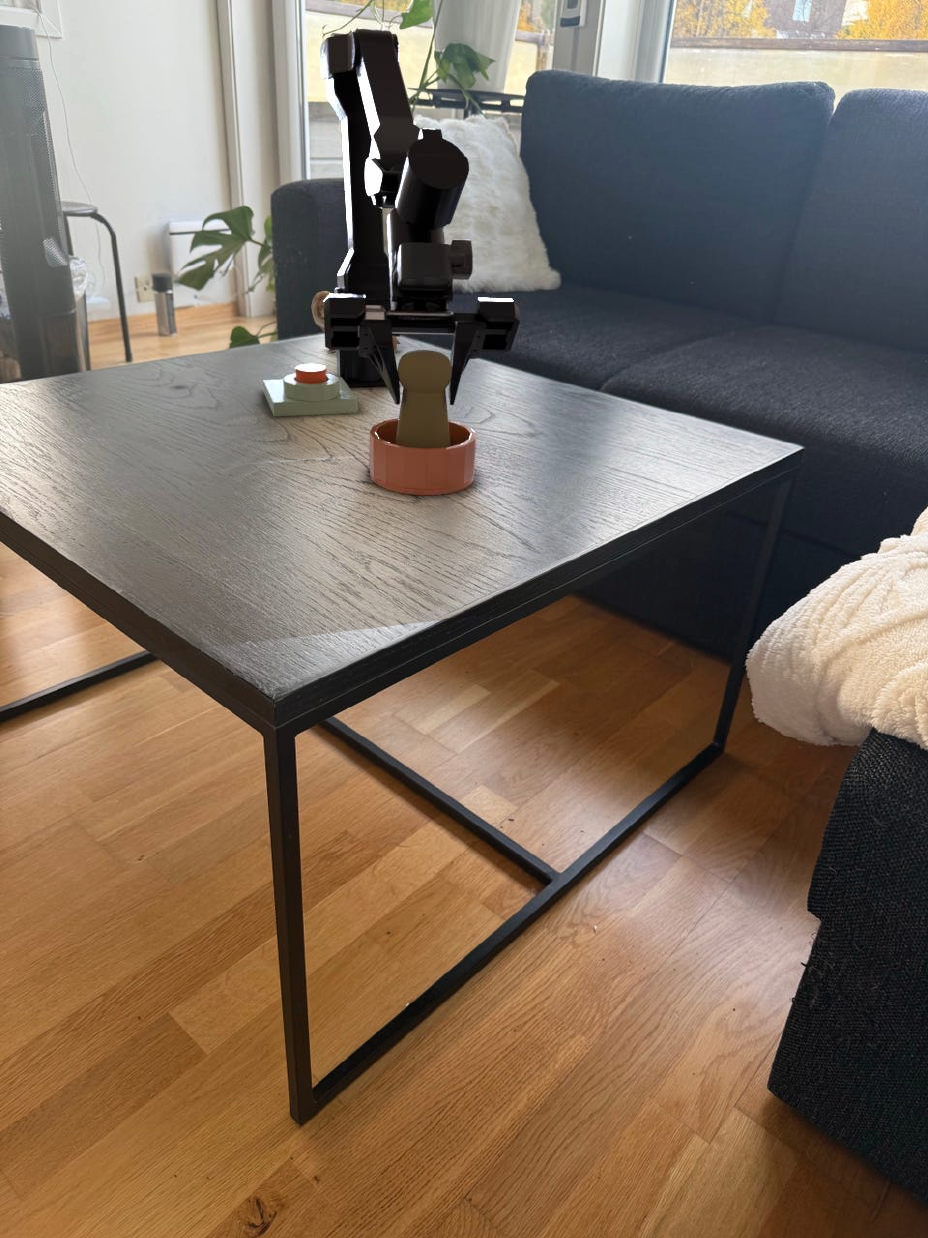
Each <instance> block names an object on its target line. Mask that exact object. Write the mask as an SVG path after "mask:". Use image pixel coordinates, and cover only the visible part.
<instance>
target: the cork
mask: <svg viewBox="0 0 928 1238" xmlns="http://www.w3.org/2000/svg"><path fill="white" fill-rule="evenodd" d="M397 370H398V376H399V382H400V385H401V386H402V394H401V399H400V408H399V415H398V418H399V421H398V428H397V434H396V441H395V445H399V446H404V447H410V448H424V449H431V448H447V447H451V446H450V435H449V424H448V420H449V413H448V403H447V391H446V388H447V387H449V383H450V380H451V377H452V366H451V362H450V357H448V356H447V355H446V354H444V353H442V352H440V351H436V350H431V349H416V350H410V351H407V352H406V353H404V354H402V355H401V356H400V358H399V360H398V364H397Z"/></svg>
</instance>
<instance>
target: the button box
mask: <svg viewBox="0 0 928 1238" xmlns="http://www.w3.org/2000/svg"><path fill="white" fill-rule="evenodd" d="M326 378H327V382H323V383H316V384H307V383H300V382H297V381H296V372H294V373H289V374H287V375H286V376H284V377H283V378H282V379H281V378H280V379H263V380H262V382H263V384H262V385H263V394H264V396H265V399H266V401H267V403H268V406H269V408H270V410H271V413H272V415H273V417H293V416H294V417H295V416H313V415H317V416H318V415H335V414H336V415H337V414H356V413H357V414H358V413H359V400H358V398H357V396H356V395H355V393H354V392H353V390H351V387H348V385H347V384H346V383H345V381H344V380H343V378H342V377H339V376H338V375H334V374H331V373H328V372H326Z"/></svg>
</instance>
